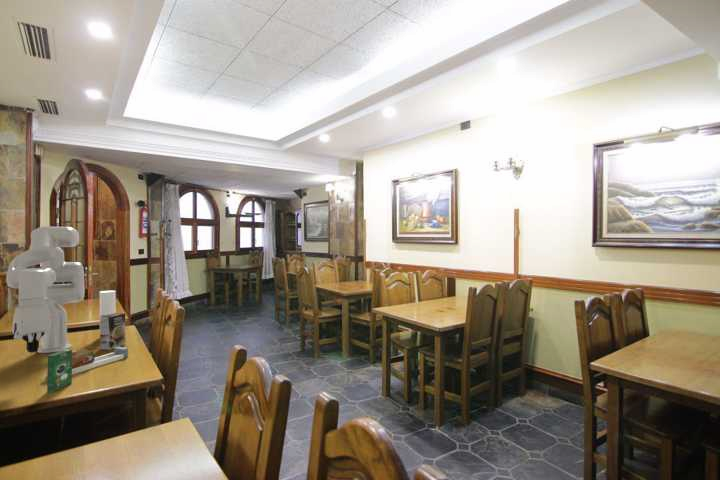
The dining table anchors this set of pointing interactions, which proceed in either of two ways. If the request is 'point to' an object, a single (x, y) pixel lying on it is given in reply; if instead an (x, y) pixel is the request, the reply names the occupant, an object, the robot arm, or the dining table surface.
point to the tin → (82, 358)
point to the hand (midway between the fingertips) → (32, 351)
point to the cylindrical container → (107, 303)
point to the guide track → (104, 359)
